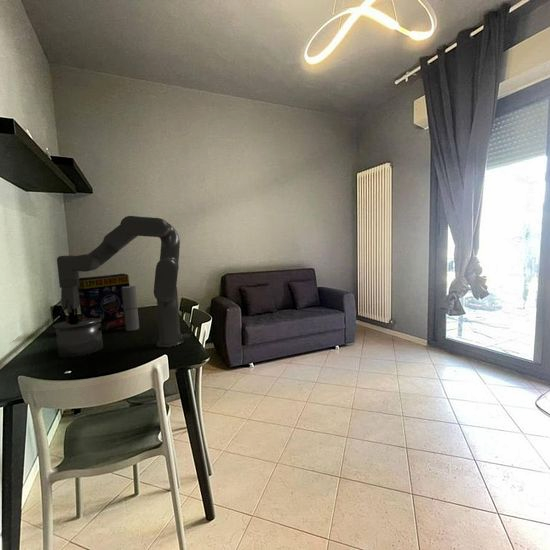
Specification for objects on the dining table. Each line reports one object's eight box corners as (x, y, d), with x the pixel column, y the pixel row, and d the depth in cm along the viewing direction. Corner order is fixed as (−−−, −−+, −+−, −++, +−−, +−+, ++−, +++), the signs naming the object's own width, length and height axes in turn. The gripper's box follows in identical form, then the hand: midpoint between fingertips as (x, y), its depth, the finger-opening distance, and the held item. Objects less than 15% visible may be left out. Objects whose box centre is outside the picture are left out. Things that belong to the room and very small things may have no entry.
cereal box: (126, 321, 201) (120, 272, 198) (135, 323, 194) (129, 272, 191) (81, 332, 180) (74, 278, 177) (89, 334, 173) (82, 278, 170)
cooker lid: (104, 318, 157) (104, 312, 157) (97, 324, 139) (96, 317, 139) (60, 323, 150) (60, 317, 150) (47, 330, 132) (46, 323, 132)
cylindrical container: (134, 330, 177) (130, 287, 174) (123, 330, 178) (118, 288, 175) (141, 327, 184) (138, 286, 181) (131, 327, 185) (127, 286, 182)
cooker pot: (112, 340, 160) (110, 317, 159) (106, 352, 142) (104, 327, 140) (58, 347, 152) (55, 324, 150) (44, 361, 134) (41, 334, 132)
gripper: (64, 282, 142) (68, 320, 144) (54, 286, 128) (58, 328, 130) (83, 281, 145) (87, 319, 147) (75, 284, 131) (79, 326, 133)
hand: (73, 323), depth 139 cm, fingers closed
